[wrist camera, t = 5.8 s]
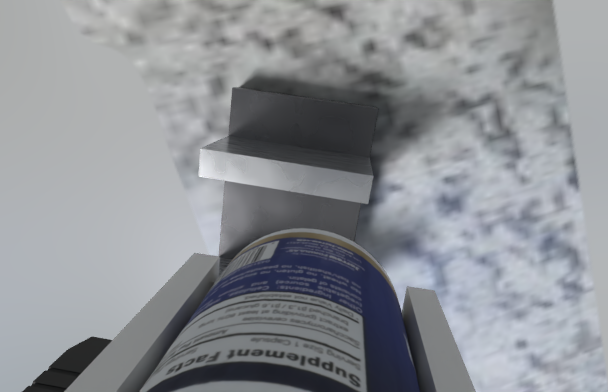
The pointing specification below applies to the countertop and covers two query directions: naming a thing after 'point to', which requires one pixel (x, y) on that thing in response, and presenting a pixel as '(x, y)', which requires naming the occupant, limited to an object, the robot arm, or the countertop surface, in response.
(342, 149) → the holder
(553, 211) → the countertop surface
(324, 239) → the pill bottle
